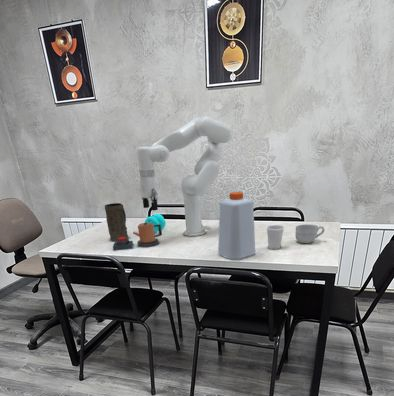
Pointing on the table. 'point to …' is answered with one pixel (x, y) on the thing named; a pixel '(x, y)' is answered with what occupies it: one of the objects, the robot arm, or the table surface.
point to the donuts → (156, 221)
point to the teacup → (307, 233)
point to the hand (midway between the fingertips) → (150, 208)
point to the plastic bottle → (236, 227)
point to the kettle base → (148, 243)
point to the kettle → (147, 232)
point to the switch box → (123, 245)
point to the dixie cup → (274, 236)
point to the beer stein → (116, 221)
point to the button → (122, 239)
